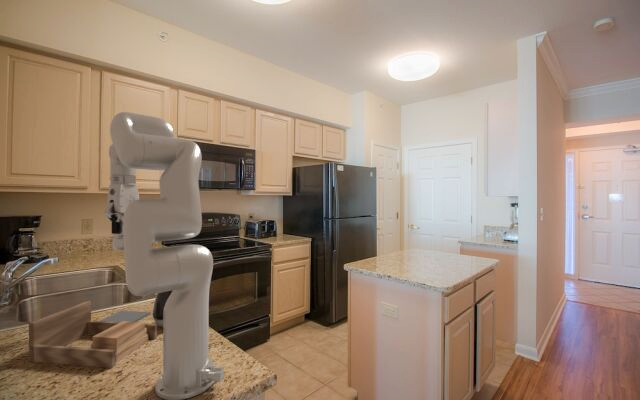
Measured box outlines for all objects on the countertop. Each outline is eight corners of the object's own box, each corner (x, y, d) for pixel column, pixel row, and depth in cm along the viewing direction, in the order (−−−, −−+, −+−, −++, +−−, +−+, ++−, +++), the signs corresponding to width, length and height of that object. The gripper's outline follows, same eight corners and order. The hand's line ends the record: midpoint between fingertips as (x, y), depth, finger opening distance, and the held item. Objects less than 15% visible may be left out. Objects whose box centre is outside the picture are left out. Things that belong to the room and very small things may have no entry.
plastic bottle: (121, 252, 103) (121, 193, 103) (107, 251, 105) (107, 193, 105) (138, 249, 109) (138, 193, 109) (124, 248, 112) (124, 193, 112)
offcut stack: (148, 341, 91) (148, 320, 91) (116, 362, 79) (116, 339, 79) (123, 339, 92) (123, 319, 92) (88, 360, 80) (88, 337, 80)
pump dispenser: (165, 333, 96) (165, 285, 96) (146, 326, 101) (146, 280, 101) (193, 322, 105) (193, 278, 105) (174, 316, 110) (174, 274, 110)
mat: (150, 313, 113) (150, 312, 113) (125, 327, 101) (125, 325, 101) (121, 312, 114) (121, 310, 114) (93, 325, 102) (93, 323, 102)
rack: (156, 337, 93) (156, 304, 93) (112, 367, 76) (112, 327, 76) (86, 332, 96) (86, 301, 96) (28, 361, 80) (28, 322, 80)
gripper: (113, 179, 98) (113, 235, 98) (149, 182, 115) (149, 230, 115) (92, 179, 99) (92, 235, 99) (131, 182, 116) (131, 230, 116)
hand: (123, 232), depth 107 cm, fingers closed on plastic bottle, 5 cm apart
